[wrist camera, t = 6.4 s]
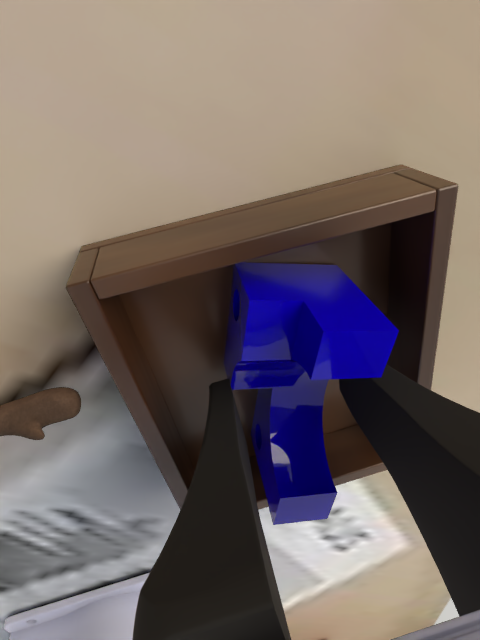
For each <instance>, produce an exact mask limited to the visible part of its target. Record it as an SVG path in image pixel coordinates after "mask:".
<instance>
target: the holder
mask: <svg viewBox="0 0 480 640" xmlns="http://www.w3.org/2000/svg"><path fill="white" fill-rule="evenodd" d="M457 192H458V184H456V183H453V182H450V181H447V180H444V179H441V178H439V177H436V176H433V175H430V174H427V173H424V172H421V171H418V170H415V169H412V168H409V167H407V166H404V165H398V166H394V167H390V168H386V169H382V170H378V171H374V172H370V173H366V174H363V175H359V176H355V177H351V178H347V179H343V180H339V181H335V182H331V183H327V184H323V185H319V186H316V187H312V188H308V189H304V190H300V191H296V192H292V193H288V194H284V195H280V196H276V197H273V198H269V199H265V200H261V201H257V202H253V203H249V204H245V205H241V206H237V207H233V208H229V209H226V210H222V211H218V212H214V213H210V214H206V215H202V216H198V217H194V218H190V219H186V220H182V221H179V222H175V223H171V224H167V225H163V226H159V227H155V228H151V229H147V230H143V231H139V232H136V233H132V234H128V235H124V236H120V237H116V238H112V239H108V240H104V241H100V242H96V243H92V244H89V245H85V246H82V247H81V249H80V253H79V255H78V257H77V260H76V262H75V265H74V267H73V270H72V272H71V275H70V277H69V280H68V282H67V285H66V289H67V291H68V293H69V295H70V297H71V299H72V301H73V303H74V305H75V307H76V308H77V310H78V312H79V314H80V316H81V318H82V320H83V322H84V324H85V326H86V328H87V330H88V332H89V334H90V336H91V337H92V339H93V341H94V343H95V345H96V347H97V349H98V351H99V353H100V355H101V357H102V359H103V361H104V363H105V365H106V366H107V368H108V370H109V372H110V374H111V376H112V378H113V380H114V382H115V384H116V386H117V388H118V390H119V392H120V394H121V396H122V397H123V399H124V401H125V403H126V405H127V407H128V409H129V411H130V413H131V415H132V417H133V419H134V421H135V423H136V425H137V426H138V428H139V430H140V432H141V434H142V436H143V438H144V440H145V442H146V444H147V446H148V448H149V450H150V452H151V454H152V455H153V457H154V459H155V461H156V463H157V465H158V467H159V469H160V471H161V473H162V475H163V477H164V479H165V481H166V483H167V485H168V486H169V488H170V490H171V492H172V494H173V496H174V498H175V500H176V502H177V504H178V506H179V508H180V510H181V508H182V506H183V503H184V500H185V498H186V495H187V492H188V490H189V487H190V484H191V481H192V478H193V475H194V472H195V469H196V465H197V462H198V458H199V454H200V450H201V446H202V442H203V437H204V432H205V427H206V421H207V415H208V407H209V386H210V385H211V383H214V382H217V381H221V380H225V379H227V374H226V370H225V365H224V356H225V346H226V336H227V327H228V317H229V307H230V297H231V288H232V278H233V268H234V264H237V263H241V262H247V263H283V264H319V265H337V266H338V267H339V268H340V269H341V270H342V271H343V272H344V273H345V274H346V275H347V276H348V277H349V278H350V279H351V280H352V282H353V283H354V284H355V285H356V286H357V287H358V288H359V289H360V290H361V291H362V292H363V293H364V294H365V295H366V296H367V297H368V298H369V299H370V300H371V302H372V303H373V304H374V305H375V306H376V307H377V308H378V309H379V310H380V311H381V312H382V313H383V314H384V315H385V316H386V317H387V318H388V319H389V320H390V322H391V323H392V324H393V325H394V326H395V327H396V328H397V329H398V330H399V332H398V335H397V338H396V340H395V343H394V345H393V348H392V351H391V353H390V356H389V359H388V361H387V365H388V366H390V367H391V368H393V369H395V370H396V371H398V372H400V373H401V374H403V375H404V376H406V377H408V378H409V379H411V380H413V381H415V382H416V383H418V384H420V385H422V386H423V387H425V388H427V389H429V390H431V386H432V378H433V371H434V363H435V356H436V348H437V341H438V334H439V326H440V319H441V311H442V304H443V296H444V289H445V281H446V274H447V266H448V259H449V251H450V244H451V236H452V229H453V222H454V214H455V207H456V199H457ZM232 392H233V395H234V399H235V402H236V406H237V410H238V413H239V417H240V420H241V424H242V428H243V432H244V435H245V439H246V443H247V447H248V453H249V459H250V465H251V471H252V477H253V483H254V489H255V495H256V501H257V507H258V509H262V508H265V507H268V502H267V498H266V494H265V490H264V486H263V482H262V478H261V474H260V470H259V466H258V462H257V458H256V454H255V450H254V446H253V442H252V438H251V429H252V423H253V417H254V411H255V405H256V400H257V394H258V389H239V390H232ZM322 424H323V439H324V447H325V453H326V458H327V462H328V466H329V470H330V474H331V477H332V480H333V483H334V486H336V485H340V484H343V483H346V482H349V481H353V480H356V479H359V478H362V477H366V476H369V475H372V474H375V473H379V472H382V471H385V470H388V469H387V468H386V466H385V465H384V463H383V462H382V460H381V459H380V457H379V456H378V454H377V453H376V451H375V449H374V448H373V446H372V445H371V443H370V442H369V440H368V439H367V437H366V436H365V434H364V433H363V431H362V430H361V428H360V427H359V425H358V423H357V422H356V420H355V419H354V417H353V416H352V414H351V412H350V410H349V408H348V406H347V404H346V402H345V400H344V398H343V396H342V394H341V391H340V388H339V379H329V381H328V383H327V387H326V391H325V395H324V402H323V415H322Z"/></svg>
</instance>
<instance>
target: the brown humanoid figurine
mask: <svg viewBox="0 0 480 640" xmlns="http://www.w3.org/2000/svg"><path fill="white" fill-rule="evenodd" d="M80 408H81V398H80V395H79V394H78V392H77V391H75V390H74V389H71V388H66V387H58V388H51V389H47V390H44V391H41V392H38V393H35V394H32V395H29V396H26V397H23V398H21V399H18V400H15V401H12V402H9V403H6V404H2V405H0V436H5V435H17V436H22V437H25V438H29V439H33V440H41V439H43V438H44V436H45V435H44V433H43V431H42V428H43V427H45V426H47V425H50V424H53V423H57V422H60V421H64V420H67V419H70V418H73V417H75V416H76V415H77V414H78V413H79V411H80Z"/></svg>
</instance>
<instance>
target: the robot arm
mask: <svg viewBox="0 0 480 640" xmlns="http://www.w3.org/2000/svg"><path fill="white" fill-rule="evenodd" d="M339 388H340V391H341V394H342V396H343V398H344V400H345V402H346V404H347V406H348V408H349V410H350V412H351V414H352V416H353V417H354V419H355V420H356V422H357V423H358V425H359V427H360V428H361V430H362V431H363V433H364V434H365V436H366V437H367V439H368V440H369V442H370V443H371V445H372V446H373V448H374V449H375V451H376V453H377V454H378V456H379V457H380V459H381V460H382V462H383V463H384V465H385V466H386V468H387V469H388V471H389V473H390V474H391V476H392V478H393V479H394V481H395V483H396V485H397V487H398V489H399V491H400V493H401V495H402V496H403V498H404V500H405V502H406V504H407V506H408V508H409V510H410V512H411V514H412V516H413V518H414V520H415V522H416V524H417V526H418V528H419V530H420V532H421V534H422V536H423V538H424V540H425V542H426V544H427V546H428V548H429V550H430V552H431V555H432V557H433V559H434V561H435V563H436V565H437V567H438V569H439V571H440V574H441V576H442V578H443V580H444V582H445V585H446V587H447V589H448V591H449V593H450V596H451V598H452V600H453V602H454V604H455V607H456V609H457V611H458V614H459V616H460V617H457V618H454V619H451V620H448V621H445V622H442V623H439V624H436V625H433V626H430V627H427V628H424V629H421V630H418V631H415V632H412V633H409V634H406V635H403V636H400V637H397V638H394V639H391V640H480V413H478V412H476V411H474V410H471V409H469V408H466V407H464V406H462V405H460V404H458V403H455V402H453V401H451V400H449V399H447V398H445V397H443V396H441V395H439V394H437V393H435V392H433V391H431V390H429V389H427V388H425V387H423V386H422V385H420V384H418V383H416V382H415V381H413V380H411V379H409V378H408V377H406V376H404V375H403V374H401V373H400V372H398V371H396V370H395V369H393V368H391V367H390V366H388V365H387V364H386V366H385V369H384V372H383V374H382V377H381V378H354V379H339ZM3 628H4V629H5V630H6V631H7V632H9V633H10V636H9V640H291V637H290V634H289V630H288V626H287V622H286V618H285V614H284V610H283V607H282V603H281V599H280V595H279V591H278V587H277V583H276V580H275V576H274V572H273V568H272V564H271V560H270V556H269V552H268V549H267V545H266V541H265V537H264V533H263V529H262V525H261V521H260V516H259V512H258V507H257V501H256V495H255V489H254V483H253V477H252V471H251V465H250V459H249V453H248V447H247V443H246V439H245V435H244V432H243V428H242V424H241V420H240V417H239V413H238V410H237V406H236V402H235V399H234V395H233V392H232V388H231V385H230V381H229V378H228V379H225V380H221V381H217V382H214V383H211V385H210V386H209V407H208V415H207V421H206V427H205V432H204V437H203V442H202V446H201V450H200V454H199V458H198V462H197V465H196V469H195V472H194V475H193V478H192V481H191V484H190V487H189V490H188V492H187V495H186V498H185V500H184V503H183V506H182V508H181V510H180V513H179V515H178V518H177V520H176V522H175V524H174V526H173V529H172V531H171V533H170V535H169V537H168V539H167V541H166V543H165V546H164V548H163V550H162V552H161V554H160V556H159V557H158V559H157V561H156V563H155V565H154V566H153V568H152V570H151V572H150V573H147V574H144V575H140V576H137V577H134V578H131V579H128V580H124V581H121V582H118V583H115V584H112V585H108V586H105V587H102V588H99V589H96V590H92V591H89V592H86V593H83V594H80V595H76V596H73V597H70V598H67V599H64V600H60V601H57V602H54V603H51V604H48V605H45V606H41V607H38V608H35V609H32V610H29V611H25V612H22V613H19V614H16V615H13V616H10V617H8V618H7V619H6V620H5V623H4V627H3Z"/></svg>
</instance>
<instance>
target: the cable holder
mask: <svg viewBox="0 0 480 640" xmlns="http://www.w3.org/2000/svg"><path fill="white" fill-rule="evenodd" d="M398 332H399V330H398V329H397V328H396V327H395V326H394V325H393V324H392V323H391V322H390V320H389V319H388V318H387V317H386V316H385V315H384V314H383V313H382V312H381V311H380V310H379V309H378V308H377V307H376V306H375V305H374V304H373V303H372V302H371V300H370V299H369V298H368V297H367V296H366V295H365V294H364V293H363V292H362V291H361V290H360V289H359V288H358V287H357V286H356V285H355V284H354V283H353V282H352V280H351V279H350V278H349V277H348V276H347V275H346V274H345V273H344V272H343V271H342V270H341V269H340V268H339V267H338V266H337V265H319V264H283V263H247V262H241V263H237V264H234V268H233V278H232V288H231V297H230V307H229V317H228V327H227V336H226V346H225V356H224V365H225V370H226V374H227V379H228V378H229V381H230V385H231V388H232V390H239V389H258V394H257V400H256V405H255V411H254V417H253V423H252V429H251V438H252V442H253V446H254V450H255V454H256V458H257V462H258V466H259V470H260V474H261V478H262V482H263V486H264V490H265V494H266V498H267V502H268V506H269V510H270V514H271V518H272V522H273V525H276V524H284V523H293V522H301V521H310V520H319V519H327V518H328V515H329V513H330V510H331V508H332V505H333V502H334V500H335V497H336V495H337V491H336V488H335V486H334V483H333V480H332V477H331V474H330V470H329V466H328V462H327V458H326V453H325V447H324V439H323V424H322V415H323V402H324V395H325V391H326V387H327V383H328V381H329V379H354V378H381V377H382V374H383V372H384V369H385V366H386V364H387V361H388V359H389V356H390V353H391V351H392V348H393V345H394V343H395V340H396V338H397V335H398Z"/></svg>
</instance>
